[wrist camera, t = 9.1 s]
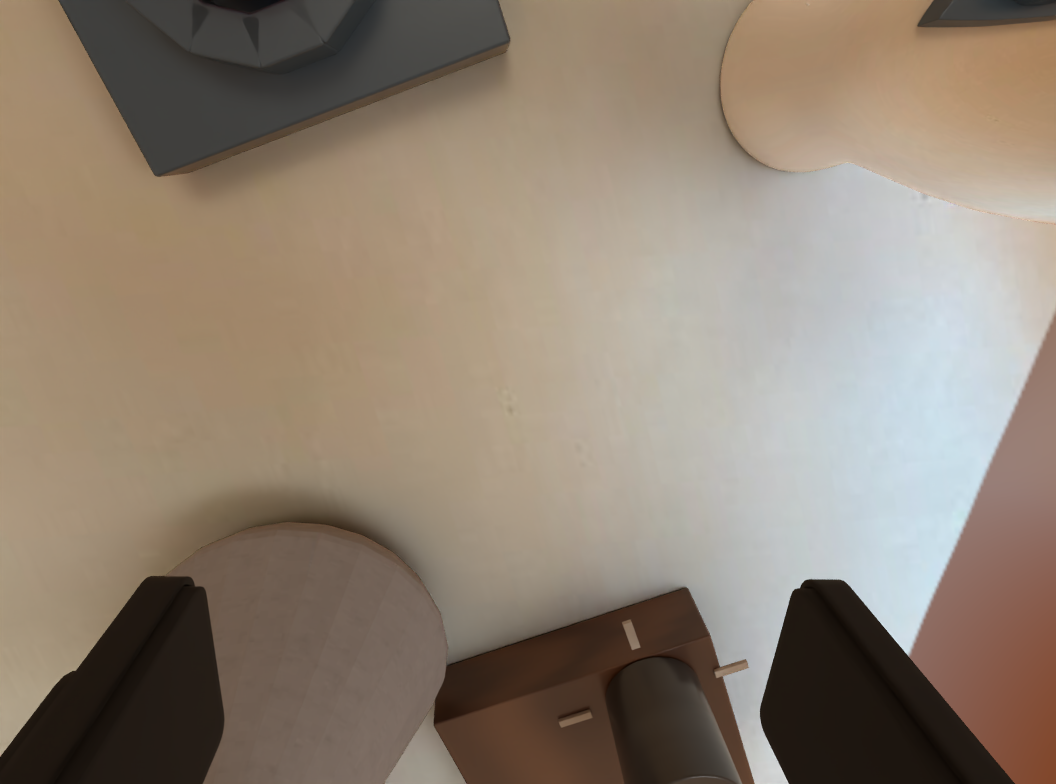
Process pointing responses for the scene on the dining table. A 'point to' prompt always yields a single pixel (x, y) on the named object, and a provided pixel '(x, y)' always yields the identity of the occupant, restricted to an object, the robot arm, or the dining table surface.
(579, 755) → the panel
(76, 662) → the dining table surface
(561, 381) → the dining table surface
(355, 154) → the dining table surface
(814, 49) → the beer glass
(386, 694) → the coffee pot
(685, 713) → the knob
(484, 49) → the button box
